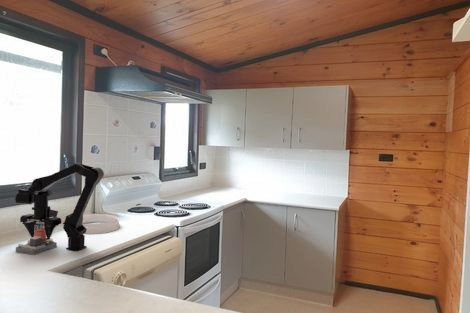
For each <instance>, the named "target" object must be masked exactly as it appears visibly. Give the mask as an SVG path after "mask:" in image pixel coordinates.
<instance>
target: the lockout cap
mask: <svg viewBox="0 0 470 313" xmlns="http://www.w3.org/2000/svg"><path fill="white" fill-rule="evenodd" d="M36 236H38V237H41V238H42V241H45V240H46V238H47V237H46V231H45V230H44V229H38V230H37V231H34V237H36Z"/></svg>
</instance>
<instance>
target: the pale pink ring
mask: <svg viewBox="0 0 470 313" xmlns="http://www.w3.org/2000/svg"><path fill="white" fill-rule="evenodd" d="M82 225H83V226H84V227H85V228H86V229H87V230H86V233H84V234H83V235H86V234H87V235H91V234H92V235H95V234H96V235H97V234H105V233H109V232H113V231H116V230H118V229H119V228H120V227H119V225H120V221H119V219H118V217H117V216H116V215H113V214H106V213H89V214H83V222H82Z"/></svg>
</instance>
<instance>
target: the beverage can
mask: <svg viewBox="0 0 470 313" xmlns="http://www.w3.org/2000/svg"><path fill="white" fill-rule="evenodd" d="M38 220H39V219H38ZM45 226H46V224H45V222H38V221H37V222H36V224H35V231H37V230H38V229H44V230H45ZM35 231H34V232H35Z"/></svg>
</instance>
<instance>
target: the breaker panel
mask: <svg viewBox="0 0 470 313" xmlns="http://www.w3.org/2000/svg"><path fill="white" fill-rule="evenodd" d="M26 242H27V243H26V244H23V243H18V244H17V245H18V246H16V247H15V253H21V254H27V255H32V256H33V255H37V254H40V253H43V252H46V251H48V250H52V249H53V248H57V245H58V243H57V242H55V241H54V238H51V237H50V239H48V240H47V237H46V240H45V241H42V245H39V246H36V247H35V246H30V239H28V240H27V241H26Z"/></svg>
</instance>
